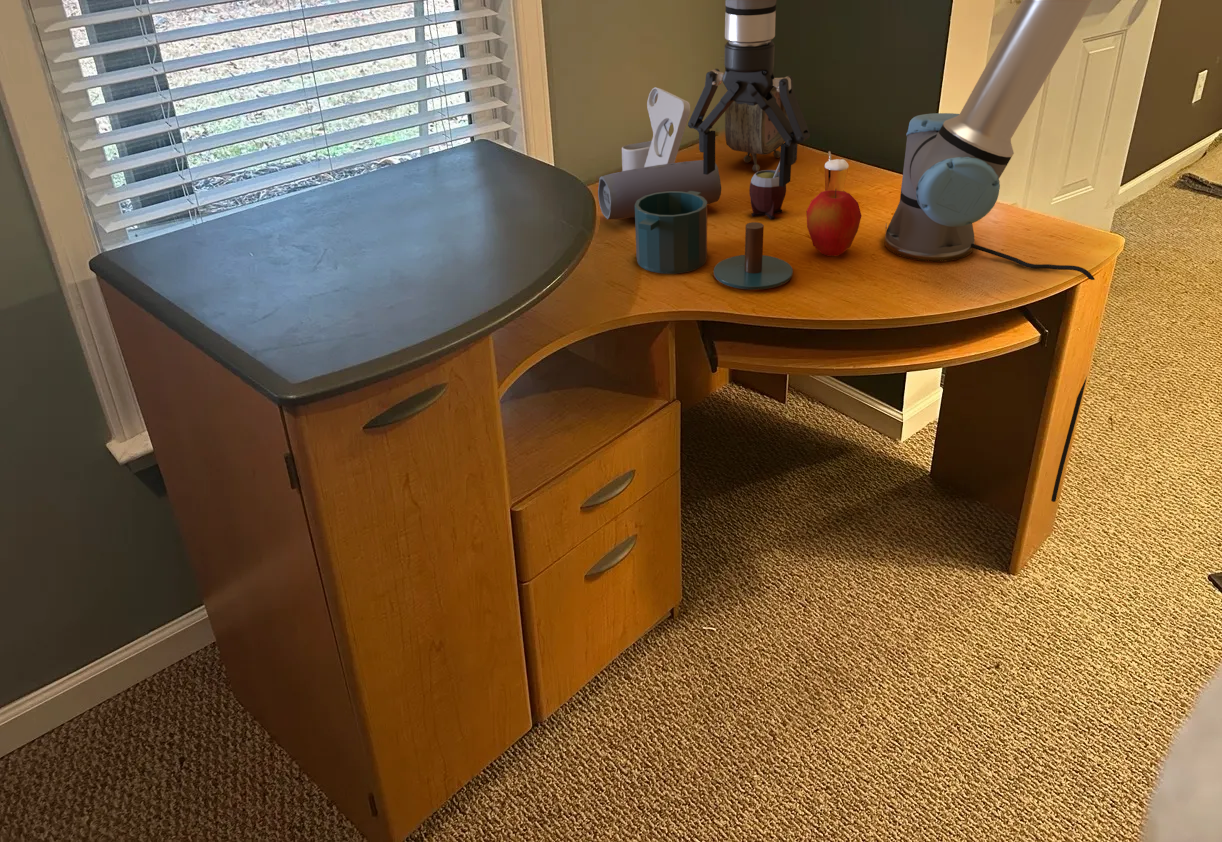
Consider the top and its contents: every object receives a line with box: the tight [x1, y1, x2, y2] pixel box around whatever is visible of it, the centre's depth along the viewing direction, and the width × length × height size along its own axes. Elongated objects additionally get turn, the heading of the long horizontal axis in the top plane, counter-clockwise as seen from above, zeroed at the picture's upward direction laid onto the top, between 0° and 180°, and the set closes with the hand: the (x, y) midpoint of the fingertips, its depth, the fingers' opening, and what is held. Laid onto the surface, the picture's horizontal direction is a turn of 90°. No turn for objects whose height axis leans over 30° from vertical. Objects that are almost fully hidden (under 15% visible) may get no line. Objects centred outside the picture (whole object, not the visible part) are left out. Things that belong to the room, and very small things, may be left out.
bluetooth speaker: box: [597, 159, 722, 220], centre depth 192 cm, size 23×9×10 cm, turn 108°
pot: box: [634, 191, 708, 275], centre depth 173 cm, size 12×18×10 cm
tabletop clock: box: [724, 86, 789, 173], centre depth 213 cm, size 14×9×25 cm, turn 147°
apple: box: [805, 189, 862, 257], centre depth 172 cm, size 9×9×12 cm
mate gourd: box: [749, 161, 787, 220], centre depth 189 cm, size 8×8×15 cm
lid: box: [713, 221, 794, 291], centre depth 166 cm, size 13×13×9 cm
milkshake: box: [824, 150, 850, 191], centre depth 193 cm, size 4×5×10 cm
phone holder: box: [621, 87, 691, 172], centre depth 207 cm, size 17×10×18 cm, turn 23°
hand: (746, 177), depth 160 cm, fingers open, 13 cm apart
